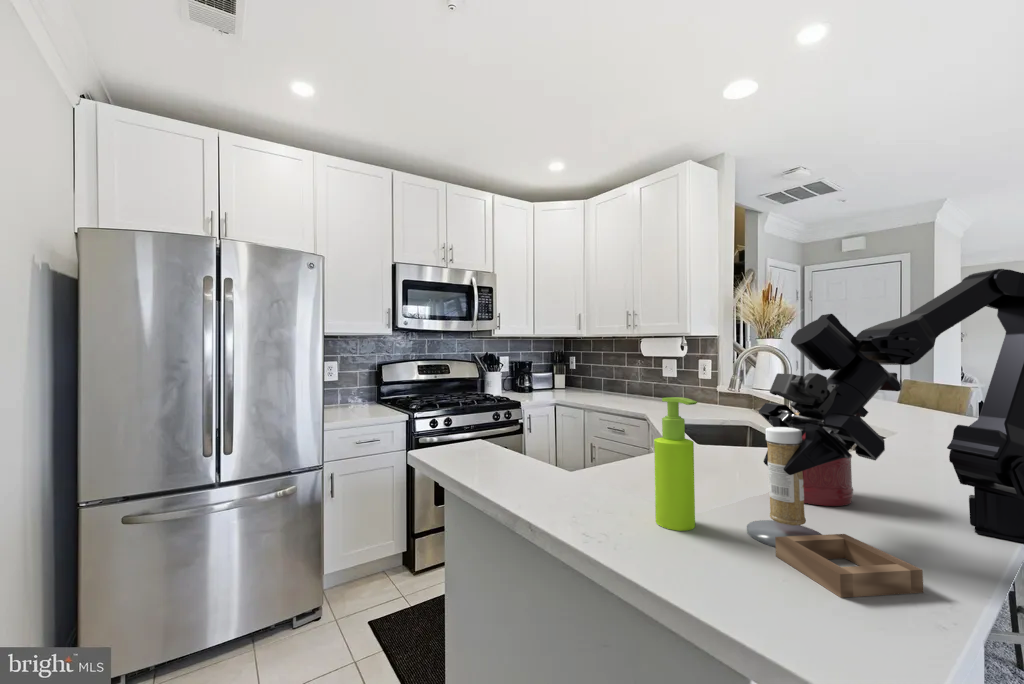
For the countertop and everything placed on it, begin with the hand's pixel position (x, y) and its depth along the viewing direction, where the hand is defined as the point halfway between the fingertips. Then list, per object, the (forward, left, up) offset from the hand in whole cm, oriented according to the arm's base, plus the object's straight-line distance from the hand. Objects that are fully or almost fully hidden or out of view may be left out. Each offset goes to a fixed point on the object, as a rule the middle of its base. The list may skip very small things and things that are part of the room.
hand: (775, 468), depth 63 cm
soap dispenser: (+12, +6, -10) cm, 17 cm away
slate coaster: (-1, -1, -10) cm, 10 cm away
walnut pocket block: (-9, +6, -10) cm, 15 cm away
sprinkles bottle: (-1, -1, -8) cm, 8 cm away
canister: (+2, -26, -10) cm, 28 cm away
